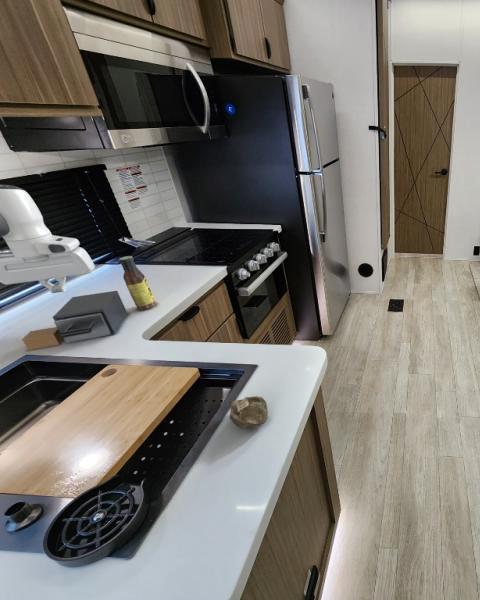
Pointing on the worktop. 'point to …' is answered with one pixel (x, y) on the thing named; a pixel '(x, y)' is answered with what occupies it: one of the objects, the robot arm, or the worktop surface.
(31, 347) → the block
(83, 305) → the gray drawer cabinet
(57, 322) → the drawer
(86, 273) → the robot arm
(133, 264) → the sauce bottle
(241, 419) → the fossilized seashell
